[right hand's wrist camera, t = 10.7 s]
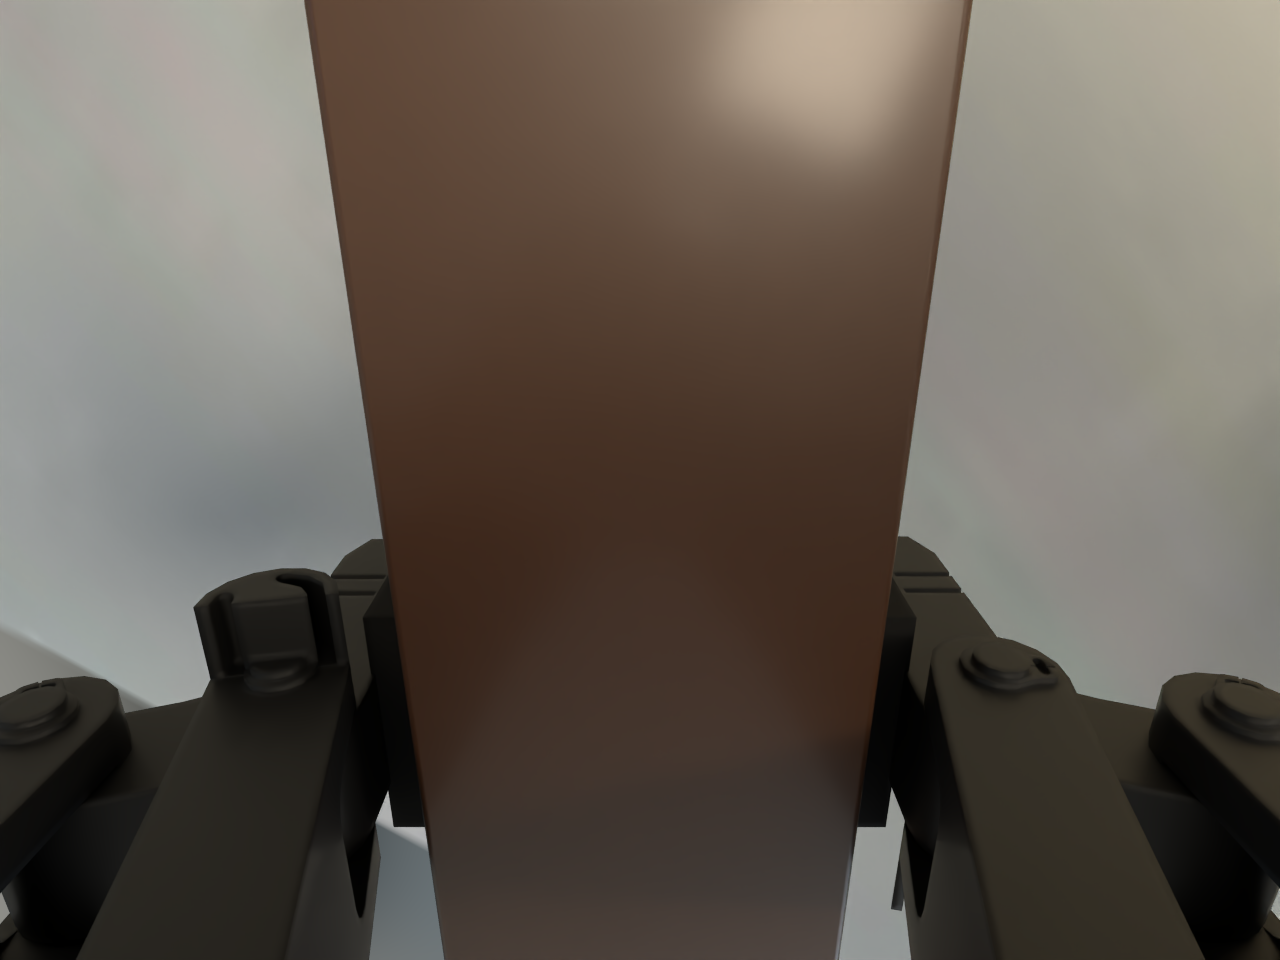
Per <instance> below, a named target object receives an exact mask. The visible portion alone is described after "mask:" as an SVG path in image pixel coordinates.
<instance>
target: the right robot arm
mask: <svg viewBox="0 0 1280 960" xmlns="http://www.w3.org/2000/svg"><path fill="white" fill-rule="evenodd" d="M193 608H194V612H195V616H196V620H197V624H198V628H199V633H200V637H201V641H202V645H203V649H204V654H205V658H206V662H207V666H208V670H209V674H210V679H211V680H210V682H209V684H208V686H207V688H206V690H205V692H204V694H203V696H202V697H201V698H197V699H193V700H189V701H185V702H180V703H175V704H170V705H165V706H159V707H154V708H149V709H144V710H139V711H134V712H128V713H125V712H124V709H123V705H122V702H121V699H120V695H119V692H118V689H117V688H116V687H114V686H113V685H112V684H111V683H109V682H108V681H107V680H104V679H98V678H92V677H86V676H81V677H70V678H55V679H50V680H44V681H42V683H38V682H36V683H33V684H30V685H26V686H23V687H21V688H19V689H18V690H16V691H14V692H12V693H10V694H7V695H5V696H3V697H0V893H1V892H2V895H3V897H4V900H5V902H6V905H7V907H8V909H9V912H10V914H9V915H8V916H7V917H6V918H5V919H4V920H3V922H2V923H1V924H0V960H369V955H370V946H371V937H372V929H373V920H374V911H375V903H376V894H377V885H378V877H379V868H380V859H381V856H380V849H379V843H378V836H377V830H376V824H375V822H376V819H377V817H378V814H379V812H380V809H381V807H382V804H383V802H384V799H385V796H386V794H387V791H388V792H389V798H390V805H391V812H392V818H393V825H394V827H425V823H424V817H423V810H422V803H421V796H420V789H419V782H418V776H417V769H416V762H415V755H414V748H413V741H412V735H411V728H410V721H409V714H408V707H407V700H406V694H405V687H404V680H403V673H402V666H401V659H400V653H399V646H398V639H397V632H396V625H395V618H394V612H393V605H392V598H391V591H390V584H389V577H388V571H387V564H386V557H385V550H384V543H383V539H371V540H370V541H368V542H367V543H365V544H363V545H362V546H360V547H358V548H357V549H355V550H354V551H352V552H350V553H349V554H347V555H346V556H345V557H344V558H343V559H342V561H341V562H340V563H339V565H338V566H337V567H336V569H335V570H334V572H333V573H332V574H331V577H330V576H329V575H327V574H326V573H324V572H319V571H315V570H310V569H306V568H282V569H275V570H269V571H263V572H258V573H253V574H250V575H247V576H244V577H241V578H238V579H235V580H232V581H229V582H227V583H225V584H223V585H221V586H220V587H218V588H216V589H214V590H212V591H211V592H209V593H207V594H206V595H205V596H204V597H203V598H202V599H201V600H200V601H199V602H198V603H197V604H196V605H195V606H194V607H193ZM891 787H892V789H893V792H894V794H895V797H896V799H897V802H898V804H899V807H900V809H901V812H902V814H903V817H904V819H905V824H904V830H903V836H902V843H901V849H900V855H899V861H898V868H897V874H896V880H895V886H894V893H893V899H892V906H891V909H894V910H900V911H902V906H903V901H905V910H906V918H907V927H908V936H909V944H910V953H911V960H1280V920H1279V919H1278V918H1277V917H1276V915H1275V914H1274V913H1273V912H1272V911H1271V907H1272V905H1273V902H1274V900H1275V897H1276V895H1277V892H1278V890H1279V888H1280V693H1278V692H1275V691H1273V690H1270V689H1268V688H1266V687H1264V686H1263V685H1261V684H1259V683H1257V682H1254V681H1250V680H1247V679H1244V678H1242V679H1239V678H1238V677H1235V676H1230V675H1225V674H1220V675H1219V674H1208V673H1196V672H1195V673H1189V674H1183V675H1177V676H1174V677H1172V678H1171V679H1170V680H1169V681H1167V682H1166V683H1165V684H1164V685H1162V689H1161V692H1160V696H1159V699H1158V703H1157V706H1156V709H1149V708H1144V707H1139V706H1134V705H1128V704H1123V703H1118V702H1113V701H1108V700H1102V699H1097V698H1093V697H1089V696H1085V695H1081V694H1077V693H1076V691H1075V689H1074V687H1073V685H1072V682H1071V680H1070V678H1069V677H1068V676H1067V675H1066V673H1065V672H1064V671H1063V670H1062V669H1061V667H1060V666H1059V665H1058V664H1057V663H1056V662H1055V661H1053V660H1052V659H1050V658H1048V657H1047V656H1045V655H1044V654H1042V653H1041V652H1039V651H1038V650H1036V649H1033V648H1031V647H1028V646H1026V645H1023V644H1021V643H1018V642H1016V641H1013V640H1009V639H1004V638H999V637H997V636H996V635H995V634H994V632H993V631H992V630H991V628H990V627H989V626H988V624H987V623H986V622H985V620H984V619H983V618H982V616H981V615H980V614H979V612H978V611H977V609H976V608H975V607H974V605H973V604H972V603H971V601H970V600H969V599H968V597H967V596H966V595H965V593H961V588H960V587H959V585H958V584H957V583H956V581H955V580H954V579H953V577H952V576H949V572H948V571H947V569H946V568H945V567H944V565H943V564H942V562H941V561H940V560H939V558H938V557H937V556H936V554H935V553H933V552H932V551H930V550H929V549H927V548H925V547H924V546H922V545H921V544H919V543H917V542H916V541H914V540H912V539H911V538H909V537H898V539H897V546H896V553H895V561H894V568H893V575H892V582H891V589H890V596H889V604H888V611H887V618H886V625H885V632H884V639H883V647H882V654H881V661H880V668H879V675H878V682H877V689H876V697H875V704H874V711H873V718H872V725H871V732H870V740H869V747H868V754H867V761H866V768H865V775H864V782H863V790H862V797H861V804H860V811H859V818H858V825H857V827H886V821H887V814H888V807H889V801H890V794H891Z"/></svg>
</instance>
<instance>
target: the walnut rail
mask: <svg viewBox="0 0 1280 960" xmlns="http://www.w3.org/2000/svg"><path fill="white" fill-rule="evenodd" d="M304 3H305V10H306V17H307V24H308V31H309V38H310V44H311V51H312V58H313V65H314V72H315V79H316V85H317V92H318V99H319V106H320V113H321V120H322V126H323V133H324V140H325V147H326V154H327V161H328V167H329V174H330V181H331V188H332V195H333V202H334V208H335V215H336V222H337V229H338V236H339V243H340V249H341V256H342V263H343V270H344V277H345V284H346V290H347V297H348V304H349V311H350V318H351V325H352V331H353V338H354V345H355V352H356V359H357V366H358V372H359V379H360V386H361V393H362V400H363V407H364V413H365V420H366V427H367V434H368V441H369V448H370V454H371V461H372V468H373V475H374V482H375V489H376V495H377V502H378V509H379V516H380V523H381V530H382V536H383V543H384V550H385V557H386V564H387V571H388V577H389V584H390V591H391V598H392V605H393V612H394V618H395V625H396V632H397V639H398V646H399V653H400V659H401V666H402V673H403V680H404V687H405V694H406V700H407V707H408V714H409V721H410V728H411V735H412V741H413V748H414V755H415V762H416V769H417V776H418V782H419V789H420V796H421V803H422V810H423V817H424V823H425V830H426V837H427V844H428V851H429V858H430V864H431V871H432V878H433V885H434V892H435V899H436V905H437V912H438V919H439V926H440V933H441V940H442V946H443V953H444V960H839V954H840V947H841V940H842V933H843V926H844V918H845V911H846V904H847V897H848V890H849V883H850V875H851V868H852V861H853V854H854V847H855V840H856V833H857V825H858V818H859V811H860V804H861V797H862V790H863V782H864V775H865V768H866V761H867V754H868V747H869V740H870V732H871V725H872V718H873V711H874V704H875V697H876V689H877V682H878V675H879V668H880V661H881V654H882V647H883V639H884V632H885V625H886V618H887V611H888V604H889V596H890V589H891V582H892V575H893V568H894V561H895V553H896V546H897V539H898V532H899V525H900V518H901V511H902V503H903V496H904V489H905V482H906V475H907V468H908V460H909V453H910V446H911V439H912V432H913V425H914V418H915V410H916V403H917V396H918V389H919V382H920V375H921V367H922V360H923V353H924V346H925V339H926V332H927V325H928V317H929V310H930V303H931V296H932V289H933V282H934V274H935V267H936V260H937V253H938V246H939V239H940V232H941V224H942V217H943V210H944V203H945V196H946V189H947V181H948V174H949V167H950V160H951V153H952V146H953V139H954V131H955V124H956V117H957V110H958V103H959V96H960V88H961V81H962V74H963V67H964V60H965V53H966V46H967V38H968V31H969V24H970V17H971V10H972V3H973V0H304Z"/></svg>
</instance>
